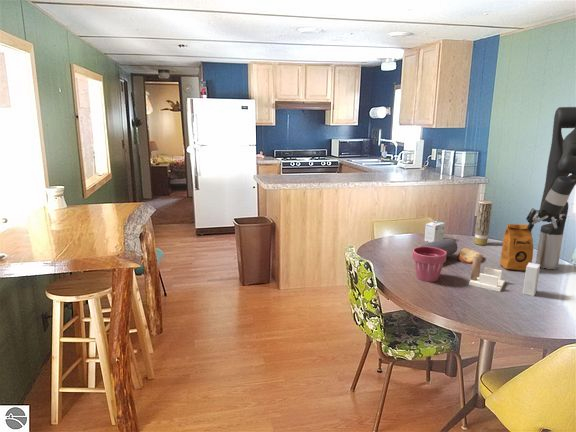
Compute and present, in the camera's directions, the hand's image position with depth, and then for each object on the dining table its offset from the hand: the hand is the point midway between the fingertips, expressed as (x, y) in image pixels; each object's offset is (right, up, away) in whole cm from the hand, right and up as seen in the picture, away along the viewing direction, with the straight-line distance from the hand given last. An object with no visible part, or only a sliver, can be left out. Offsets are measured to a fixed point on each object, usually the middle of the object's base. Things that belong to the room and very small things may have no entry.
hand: (539, 232), depth 178 cm
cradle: (-25, -22, -3) cm, 33 cm away
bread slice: (-17, -15, +32) cm, 39 cm away
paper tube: (+1, -9, +55) cm, 56 cm away
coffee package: (-2, -18, +16) cm, 24 cm away
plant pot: (-49, -21, +3) cm, 53 cm away
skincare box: (-12, -25, -12) cm, 30 cm away
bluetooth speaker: (-35, -15, +27) cm, 47 cm away
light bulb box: (-24, -8, +62) cm, 67 cm away
